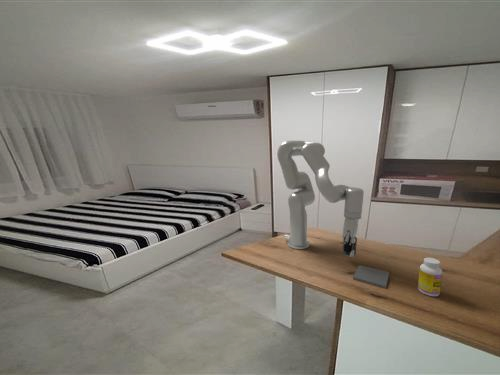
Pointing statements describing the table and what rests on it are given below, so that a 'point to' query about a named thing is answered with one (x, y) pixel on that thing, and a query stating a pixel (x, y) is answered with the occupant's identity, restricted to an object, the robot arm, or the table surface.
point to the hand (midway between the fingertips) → (349, 248)
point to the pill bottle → (353, 250)
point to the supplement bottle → (430, 277)
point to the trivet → (371, 276)
